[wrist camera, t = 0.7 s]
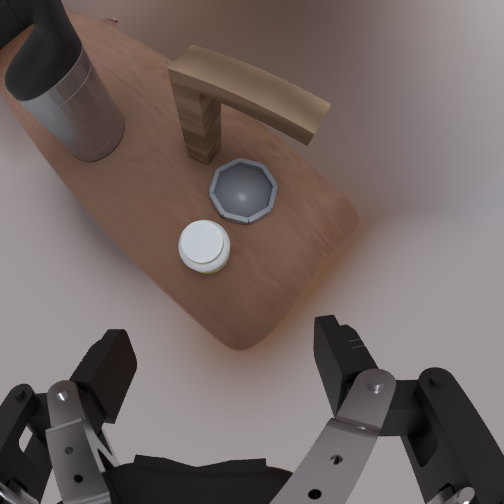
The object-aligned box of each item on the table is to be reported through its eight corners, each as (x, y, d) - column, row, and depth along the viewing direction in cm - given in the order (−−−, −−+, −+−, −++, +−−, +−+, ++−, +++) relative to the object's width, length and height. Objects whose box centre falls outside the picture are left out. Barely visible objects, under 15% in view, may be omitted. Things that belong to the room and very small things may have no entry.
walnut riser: (273, 201, 37) (314, 134, 19) (188, 156, 36) (167, 68, 18) (285, 179, 37) (331, 104, 19) (202, 136, 37) (192, 44, 19)
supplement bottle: (232, 270, 35) (235, 266, 26) (190, 277, 35) (177, 275, 25) (225, 228, 36) (226, 209, 26) (184, 234, 35) (170, 218, 26)
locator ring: (199, 181, 36) (198, 177, 34) (253, 153, 37) (254, 148, 36) (231, 236, 36) (231, 233, 34) (286, 204, 37) (289, 201, 35)
